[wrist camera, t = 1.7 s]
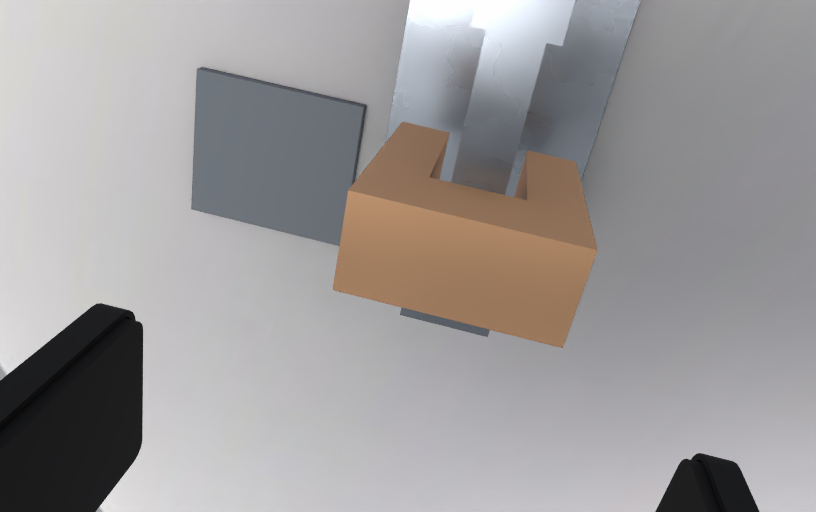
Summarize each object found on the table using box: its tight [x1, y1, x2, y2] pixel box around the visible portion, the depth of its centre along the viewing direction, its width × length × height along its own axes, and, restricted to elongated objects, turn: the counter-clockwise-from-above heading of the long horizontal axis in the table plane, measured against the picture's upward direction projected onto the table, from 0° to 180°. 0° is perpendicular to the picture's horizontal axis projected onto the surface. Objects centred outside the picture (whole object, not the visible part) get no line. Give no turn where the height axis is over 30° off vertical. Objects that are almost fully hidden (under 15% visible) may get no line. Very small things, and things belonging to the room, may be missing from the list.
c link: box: [333, 121, 597, 348], centre depth 20 cm, size 6×3×8 cm, turn 79°
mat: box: [191, 67, 366, 246], centre depth 35 cm, size 9×8×1 cm
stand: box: [385, 0, 640, 337], centre depth 24 cm, size 10×12×15 cm
